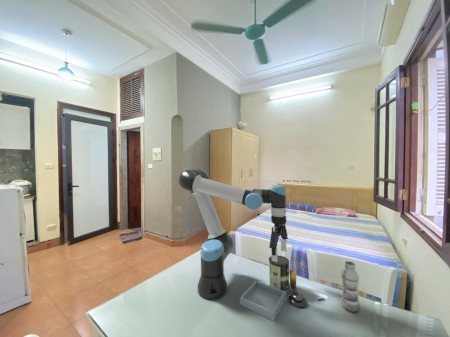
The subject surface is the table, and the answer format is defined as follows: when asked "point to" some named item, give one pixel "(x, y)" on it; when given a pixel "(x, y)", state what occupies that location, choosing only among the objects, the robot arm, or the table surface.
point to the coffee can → (279, 273)
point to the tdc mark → (320, 299)
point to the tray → (263, 299)
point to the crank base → (298, 304)
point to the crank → (295, 295)
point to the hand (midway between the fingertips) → (279, 255)
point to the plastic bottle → (350, 287)
